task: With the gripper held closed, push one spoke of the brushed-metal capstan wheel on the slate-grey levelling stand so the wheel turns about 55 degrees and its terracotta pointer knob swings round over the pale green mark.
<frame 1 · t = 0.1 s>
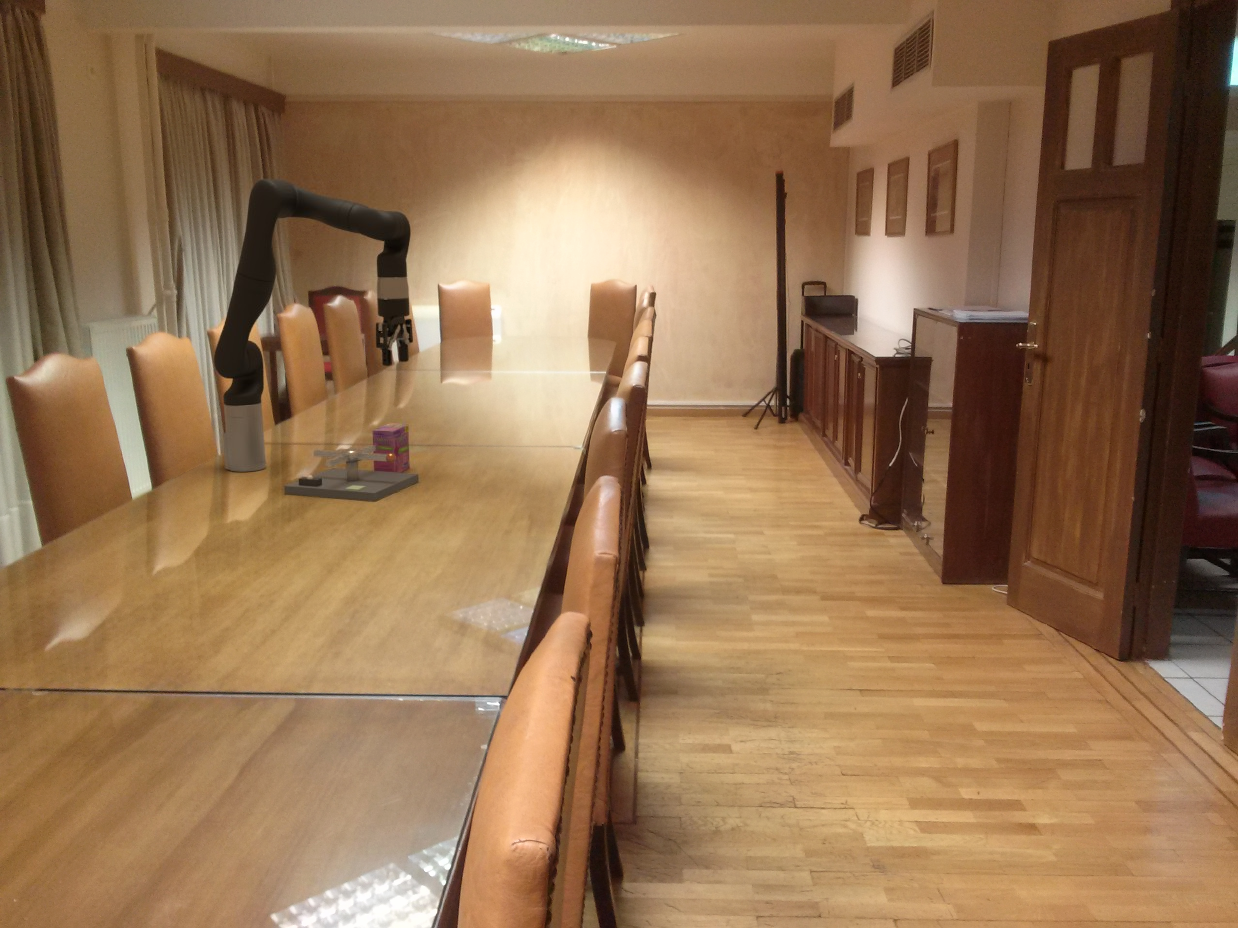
hand: (395, 363, 263), 29 cm above the table, fingers open, 8 cm apart
stand: (353, 487, 261), on the table
capstan: (354, 455, 259), point 8 cm above the table, hinge at 0.0°
box: (392, 472, 278), on the table
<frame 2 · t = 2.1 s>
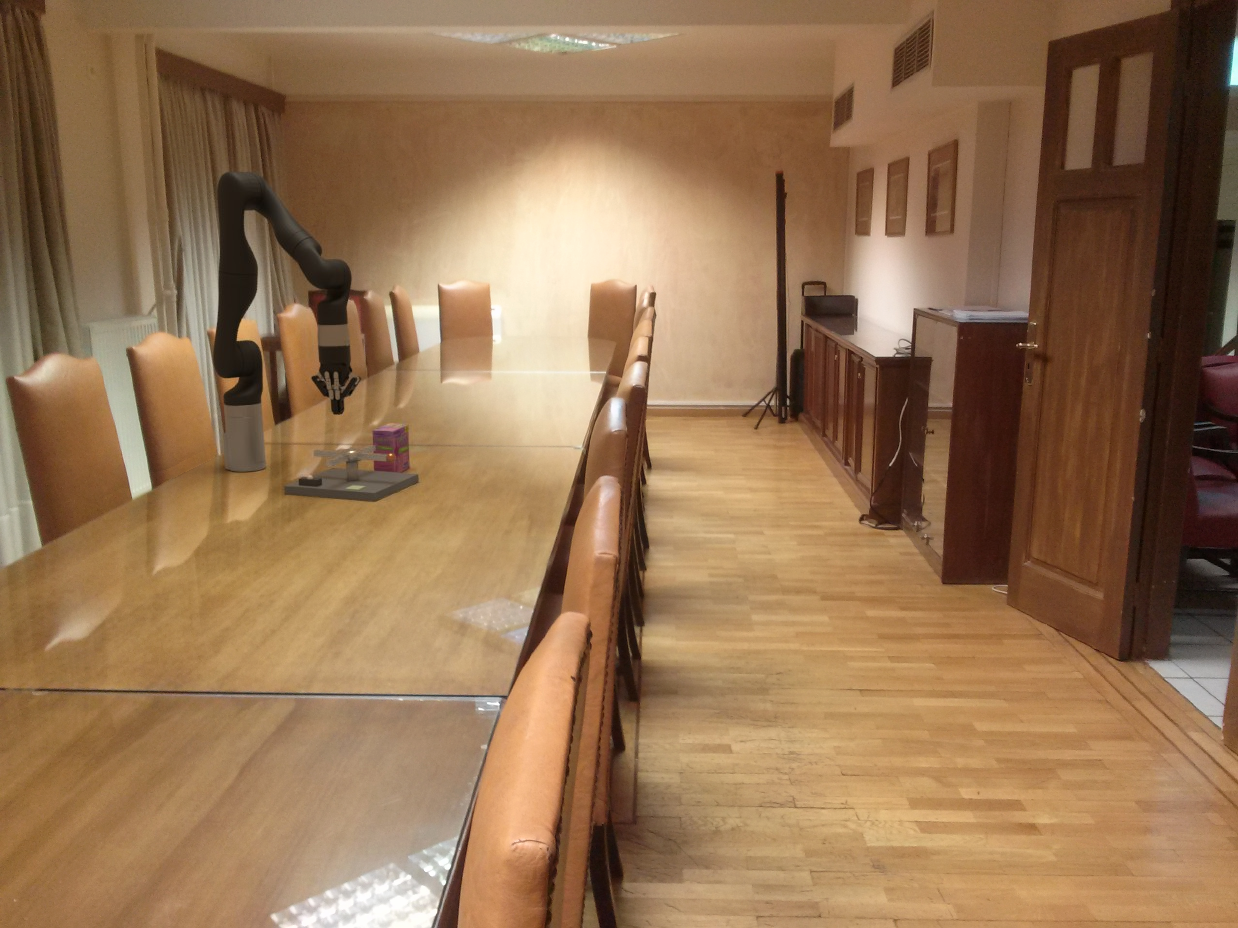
hand: (338, 414, 264), 17 cm above the table, fingers closed
nothing on the table moved.
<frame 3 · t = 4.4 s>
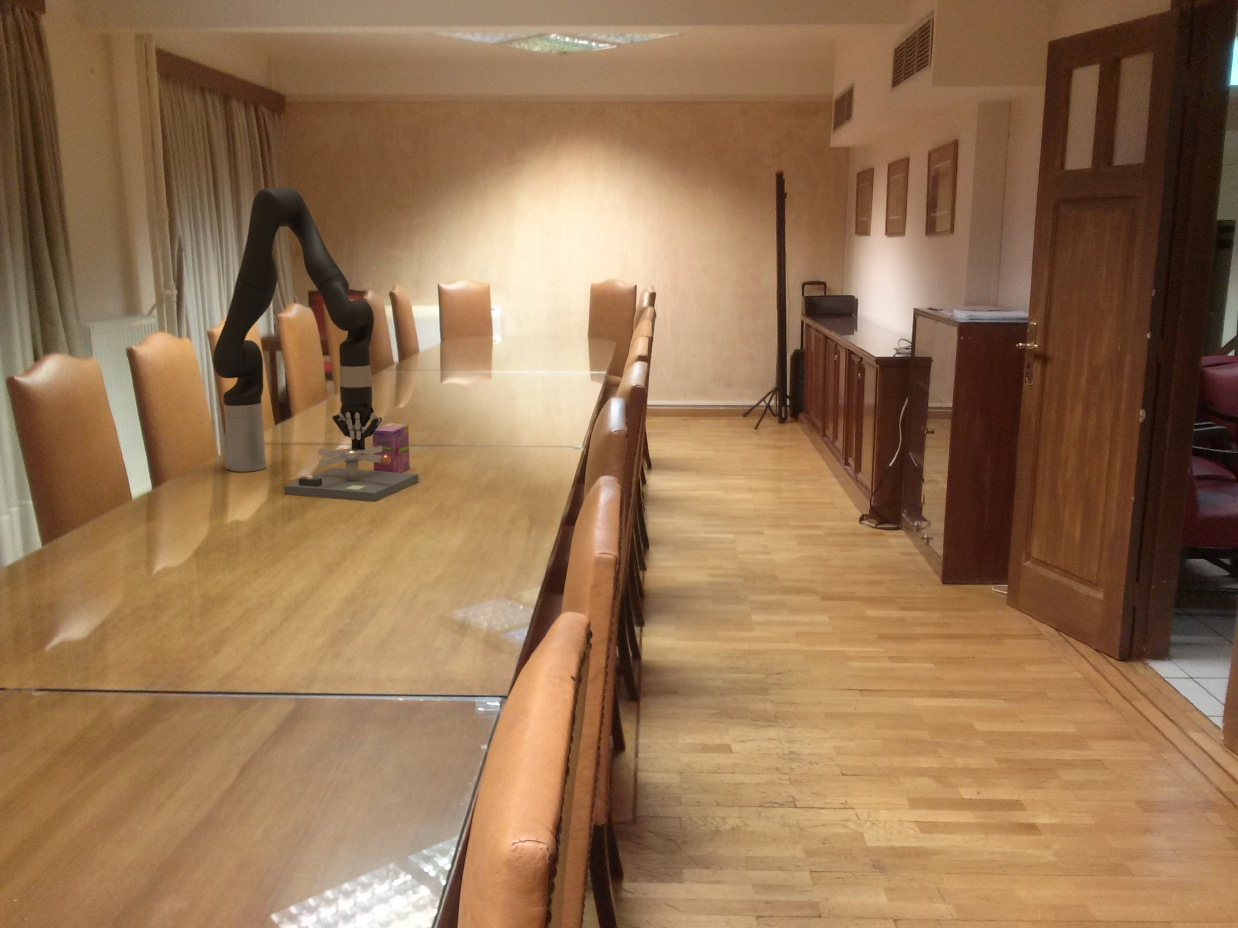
hand: (358, 454, 265), 7 cm above the table, fingers closed
capstan: (354, 455, 259), point 8 cm above the table, hinge at 11.8°, touching gripper
everything else where it was.
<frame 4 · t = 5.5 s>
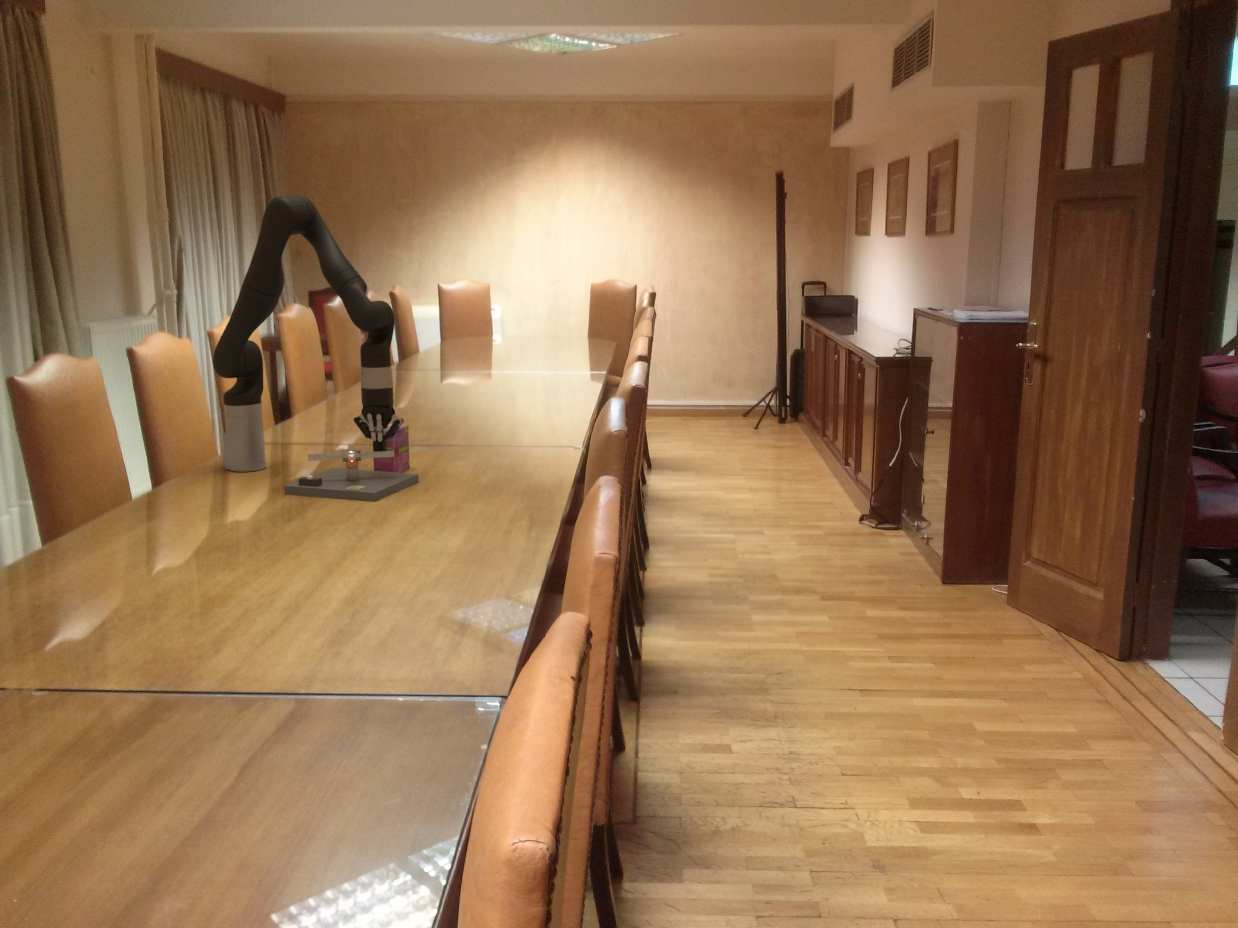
hand: (380, 455, 263), 7 cm above the table, fingers closed
capstan: (351, 456, 258), point 8 cm above the table, hinge at 58.3°, touching gripper
everything else where it was.
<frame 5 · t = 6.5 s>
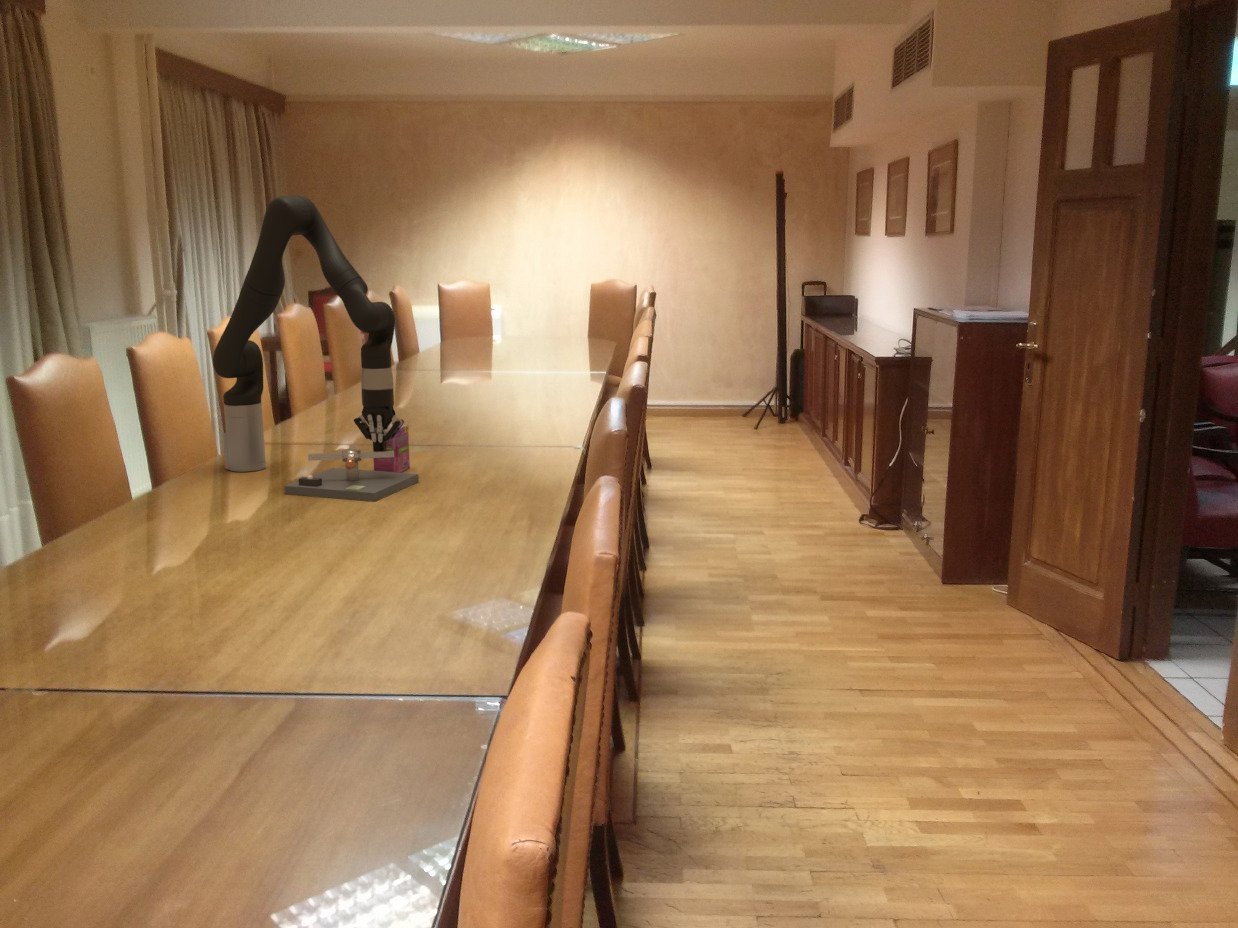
hand: (380, 456, 263), 7 cm above the table, fingers closed
capstan: (351, 456, 258), point 8 cm above the table, hinge at 60.3°
everything else where it was.
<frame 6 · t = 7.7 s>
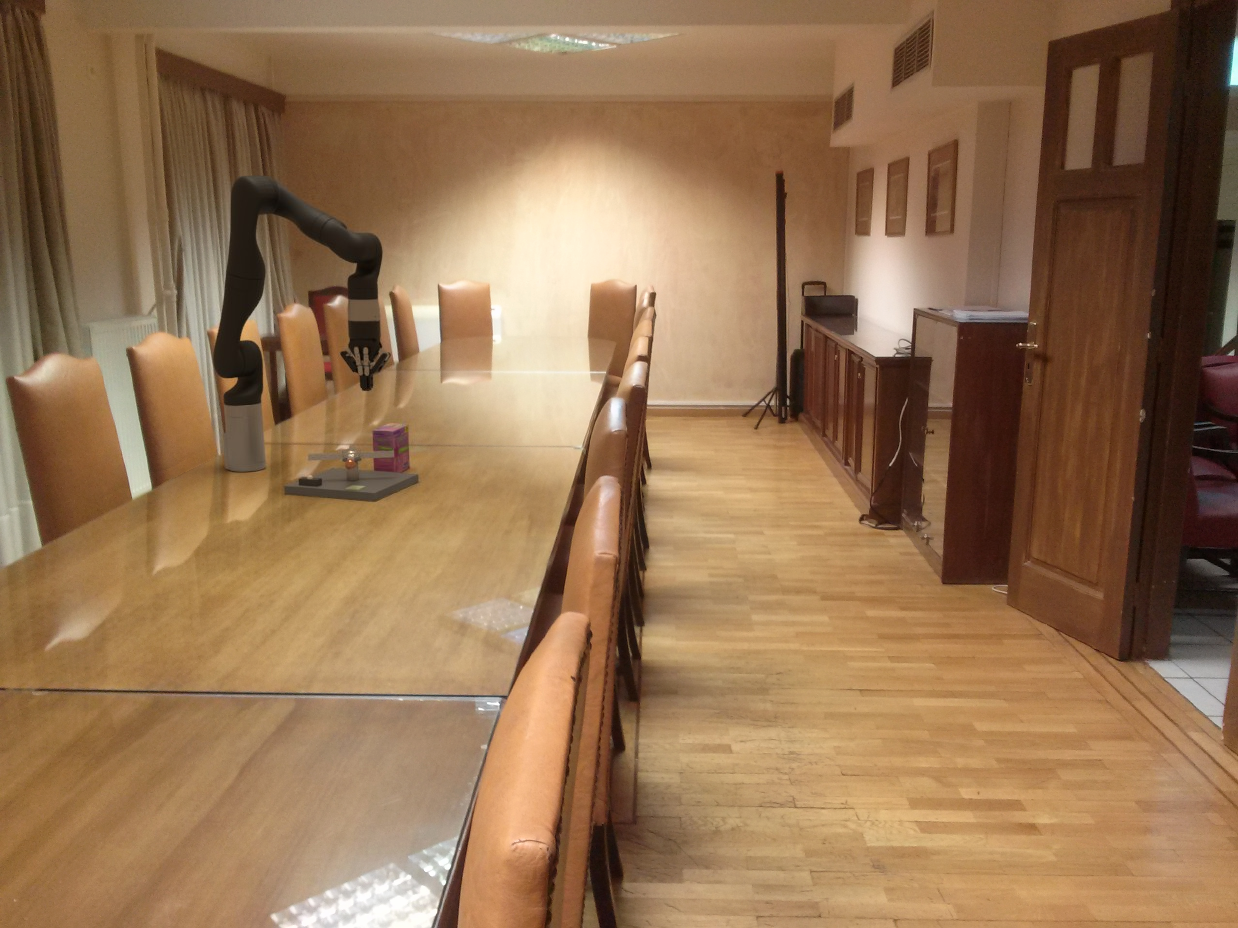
hand: (367, 390, 261), 23 cm above the table, fingers closed
nothing on the table moved.
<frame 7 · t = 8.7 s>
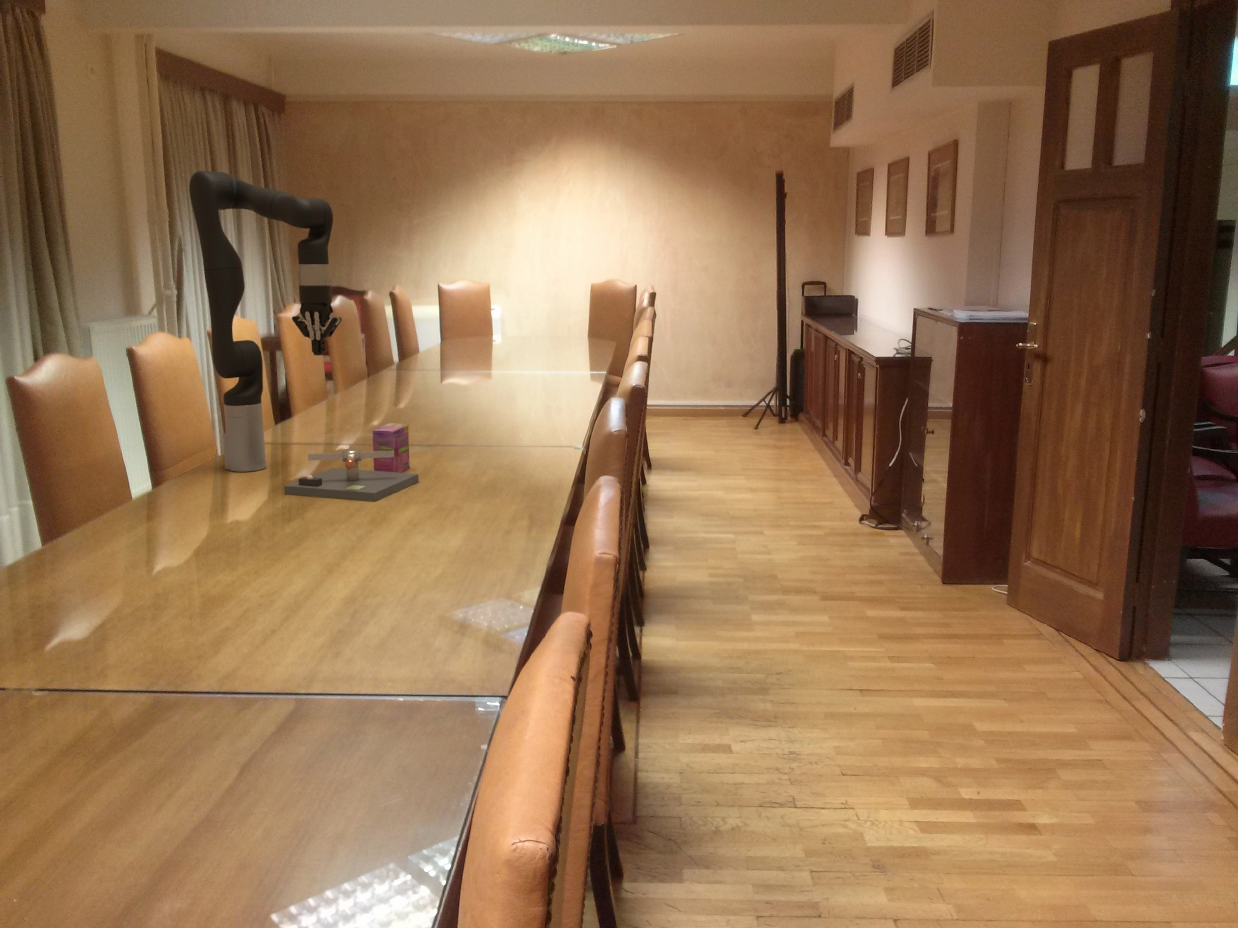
hand: (318, 355, 264), 31 cm above the table, fingers closed
nothing on the table moved.
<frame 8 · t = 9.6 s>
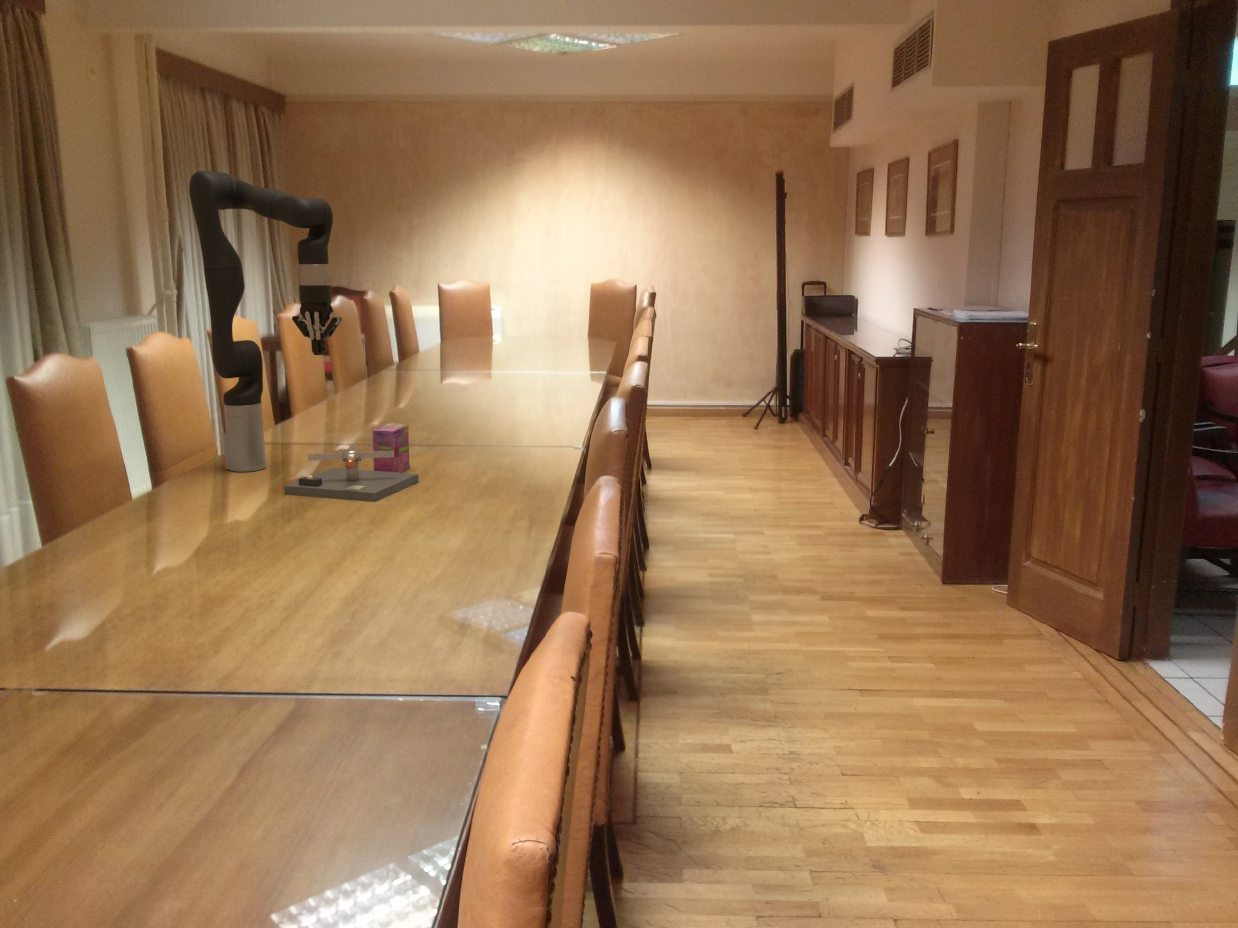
hand: (318, 354, 264), 31 cm above the table, fingers closed
nothing on the table moved.
at the end: capstan at +60° (first picture: +0°); box moved 0.3 cm from its start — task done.
